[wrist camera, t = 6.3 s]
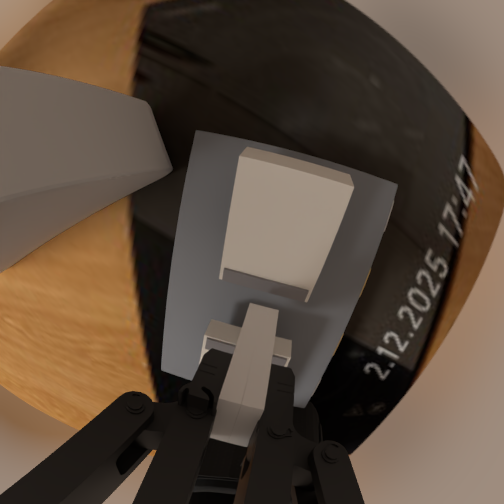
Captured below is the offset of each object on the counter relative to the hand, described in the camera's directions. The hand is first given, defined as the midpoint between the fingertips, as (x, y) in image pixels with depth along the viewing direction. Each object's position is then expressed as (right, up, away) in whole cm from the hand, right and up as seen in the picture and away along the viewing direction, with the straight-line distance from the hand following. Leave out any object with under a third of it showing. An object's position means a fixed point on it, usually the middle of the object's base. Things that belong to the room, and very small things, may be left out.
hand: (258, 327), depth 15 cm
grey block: (-19, +8, +8) cm, 23 cm away
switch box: (+1, +2, +7) cm, 7 cm away
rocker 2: (+1, +6, 0) cm, 6 cm away
